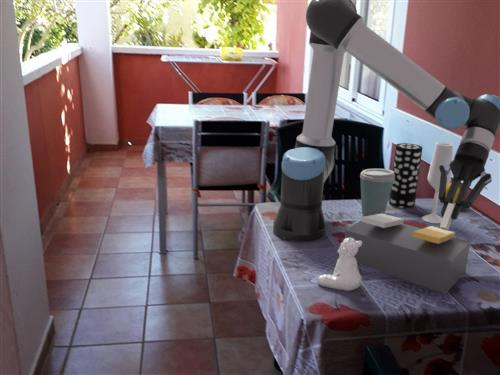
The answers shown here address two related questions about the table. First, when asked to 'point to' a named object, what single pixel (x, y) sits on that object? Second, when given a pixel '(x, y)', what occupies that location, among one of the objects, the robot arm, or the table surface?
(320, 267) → the table surface
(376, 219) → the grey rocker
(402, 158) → the spotted tube
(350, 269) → the white creature statuette
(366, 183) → the disposable coffee cup
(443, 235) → the amber rocker
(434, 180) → the champagne flute
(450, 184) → the lemon
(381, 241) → the switch box
